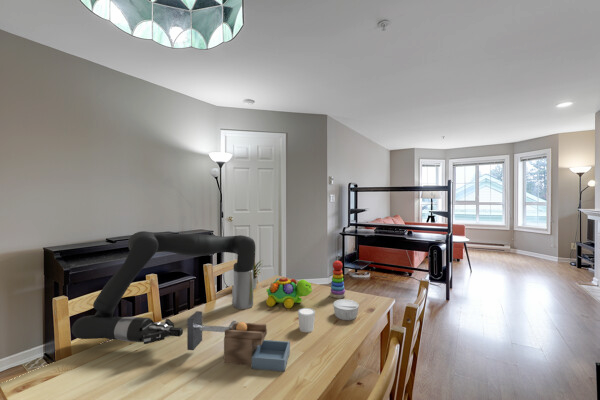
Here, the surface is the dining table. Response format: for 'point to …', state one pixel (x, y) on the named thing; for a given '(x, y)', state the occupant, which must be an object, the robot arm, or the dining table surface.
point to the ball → (241, 326)
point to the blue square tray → (271, 355)
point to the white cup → (306, 319)
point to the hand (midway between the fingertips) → (181, 332)
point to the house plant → (255, 274)
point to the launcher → (243, 343)
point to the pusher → (201, 329)
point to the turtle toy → (287, 292)
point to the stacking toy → (337, 281)
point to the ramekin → (346, 309)
